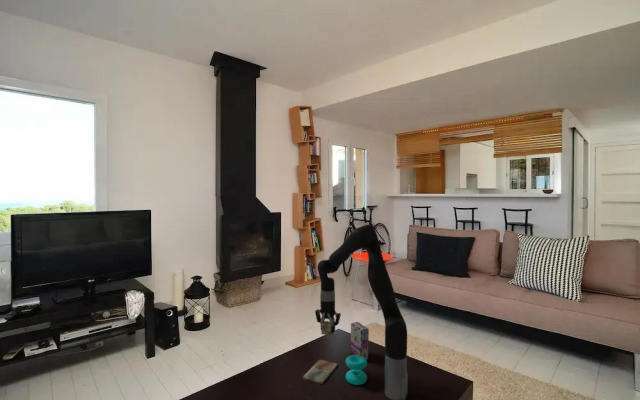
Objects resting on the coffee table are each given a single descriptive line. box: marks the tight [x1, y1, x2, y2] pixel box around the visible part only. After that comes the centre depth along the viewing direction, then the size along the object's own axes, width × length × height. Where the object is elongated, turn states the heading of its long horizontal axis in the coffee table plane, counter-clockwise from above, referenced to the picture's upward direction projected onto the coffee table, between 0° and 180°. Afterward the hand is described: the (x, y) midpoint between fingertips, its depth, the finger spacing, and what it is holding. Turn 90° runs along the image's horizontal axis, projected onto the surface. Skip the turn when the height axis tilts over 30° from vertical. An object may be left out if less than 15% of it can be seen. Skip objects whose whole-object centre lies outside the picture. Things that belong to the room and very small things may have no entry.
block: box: [320, 320, 334, 337], centre depth 163 cm, size 5×5×5 cm
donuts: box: [345, 354, 368, 386], centre depth 149 cm, size 10×10×10 cm
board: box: [302, 359, 338, 385], centre depth 156 cm, size 10×18×1 cm, turn 155°
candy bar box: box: [350, 321, 370, 360], centre depth 173 cm, size 11×5×16 cm, turn 25°
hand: (327, 331), depth 163 cm, fingers closed on block, 5 cm apart
